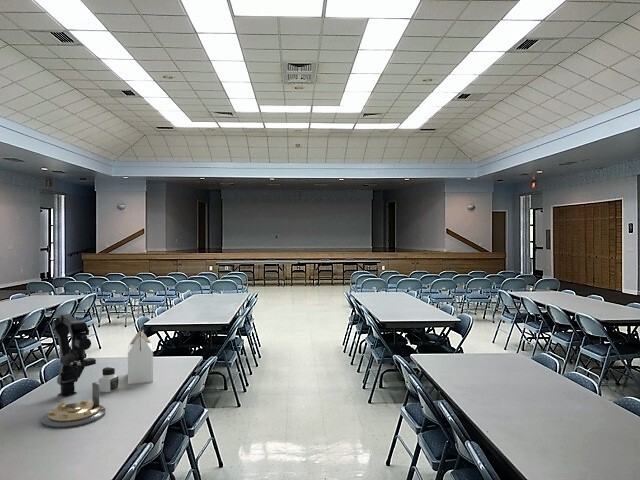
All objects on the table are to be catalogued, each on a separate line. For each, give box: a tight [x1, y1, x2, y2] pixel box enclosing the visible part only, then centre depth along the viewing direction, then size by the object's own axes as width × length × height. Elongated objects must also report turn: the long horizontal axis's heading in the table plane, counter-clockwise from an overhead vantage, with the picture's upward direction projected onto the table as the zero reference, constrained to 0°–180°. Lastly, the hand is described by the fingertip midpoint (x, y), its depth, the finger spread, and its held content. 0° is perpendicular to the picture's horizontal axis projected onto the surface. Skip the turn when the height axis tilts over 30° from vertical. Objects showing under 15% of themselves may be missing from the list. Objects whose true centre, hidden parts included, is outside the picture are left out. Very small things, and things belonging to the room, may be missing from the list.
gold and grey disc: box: [41, 404, 106, 429], centre depth 223 cm, size 26×26×2 cm
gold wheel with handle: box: [47, 381, 100, 422], centre depth 222 cm, size 21×21×12 cm
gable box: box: [127, 327, 154, 385], centre depth 283 cm, size 22×13×28 cm, turn 20°
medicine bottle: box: [98, 366, 119, 393], centre depth 261 cm, size 7×7×12 cm
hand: (78, 377), depth 243 cm, fingers closed
